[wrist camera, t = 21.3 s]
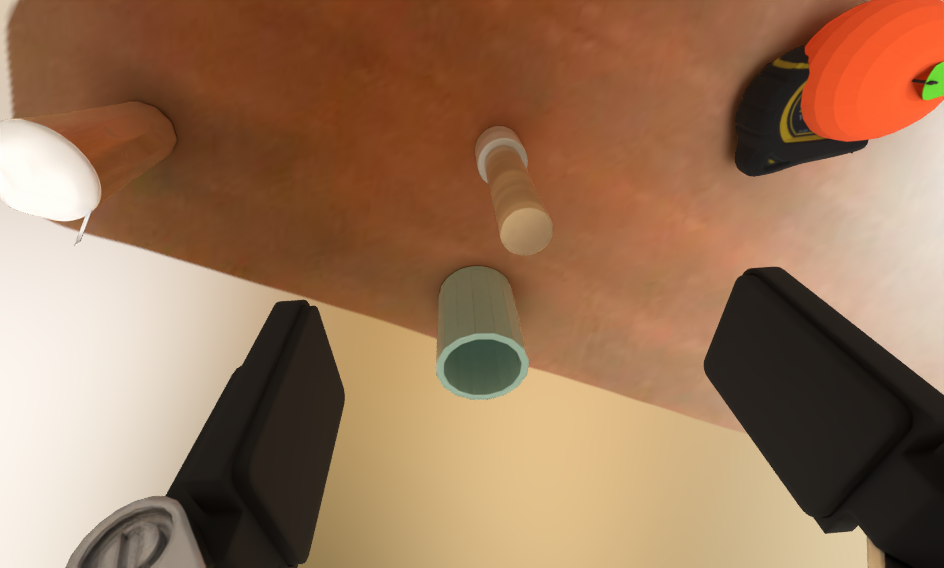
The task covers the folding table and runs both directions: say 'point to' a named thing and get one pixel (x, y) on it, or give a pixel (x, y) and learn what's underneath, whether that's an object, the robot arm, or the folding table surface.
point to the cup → (479, 335)
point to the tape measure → (780, 121)
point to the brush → (513, 192)
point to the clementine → (875, 69)
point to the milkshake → (79, 158)
